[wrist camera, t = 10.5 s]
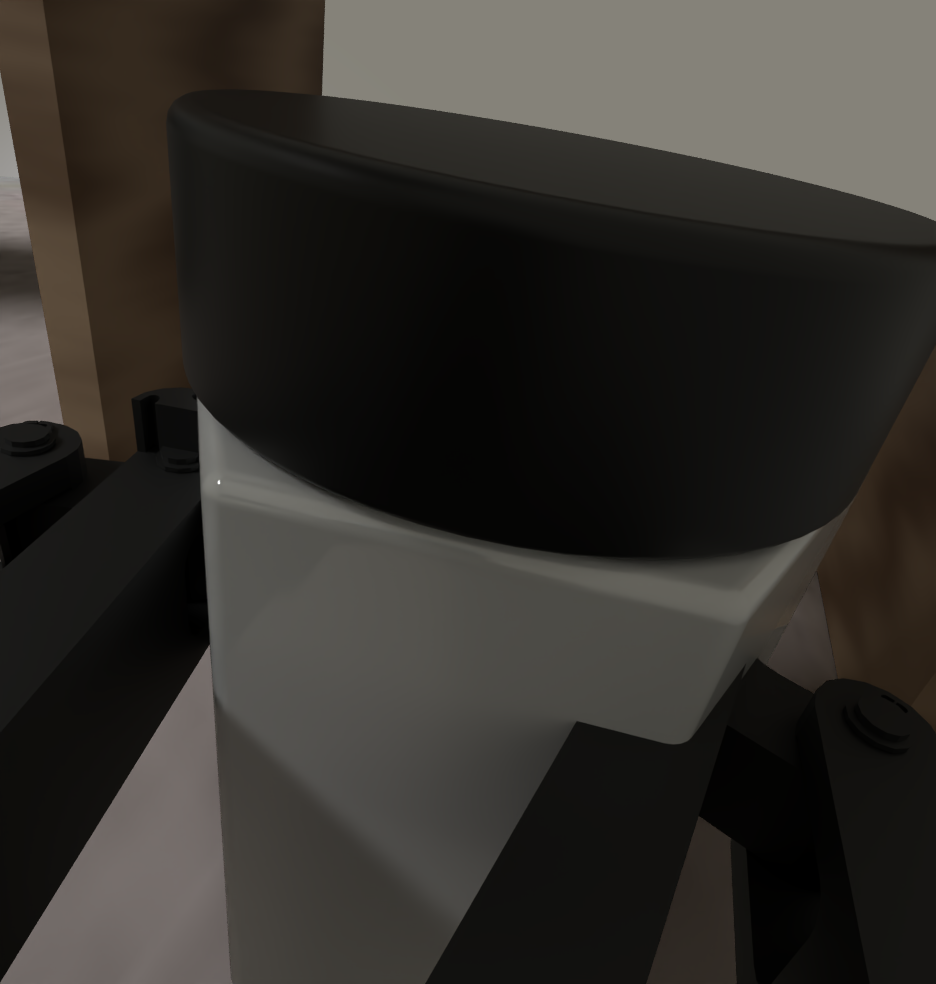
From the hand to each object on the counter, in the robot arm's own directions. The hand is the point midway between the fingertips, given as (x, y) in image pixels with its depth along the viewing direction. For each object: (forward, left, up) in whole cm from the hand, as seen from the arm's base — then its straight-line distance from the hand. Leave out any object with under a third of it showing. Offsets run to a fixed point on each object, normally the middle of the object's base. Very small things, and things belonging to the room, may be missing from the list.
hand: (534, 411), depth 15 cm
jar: (+1, -5, -7) cm, 9 cm away
